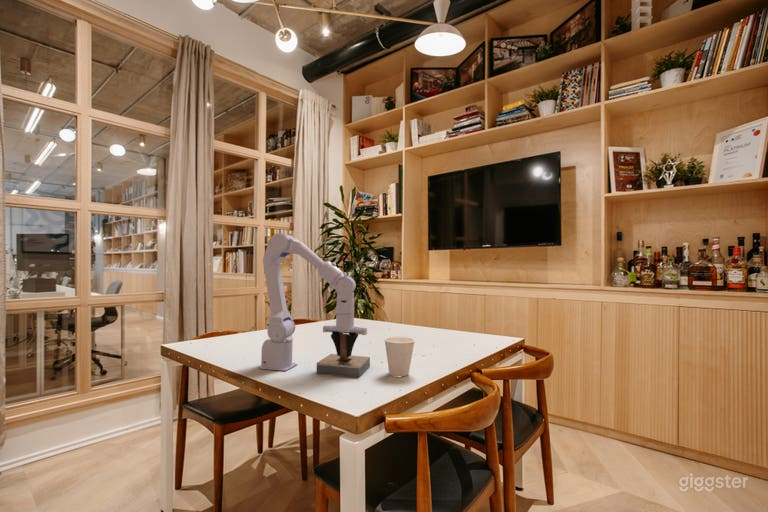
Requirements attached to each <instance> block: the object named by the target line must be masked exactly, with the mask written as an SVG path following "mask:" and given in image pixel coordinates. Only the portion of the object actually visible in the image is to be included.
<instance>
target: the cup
mask: <svg viewBox="0 0 768 512" xmlns="http://www.w3.org/2000/svg"><path fill="white" fill-rule="evenodd" d="M383 341H384V345H385V352H386V359H387V360H386V361H387V365H388V366H387V367H388V373H389V375H390V376H392V377H394V376H405V377H407V376H408V375H409V373H410V368H411V367H410V366H411V362H412V356H413V352H414V346H415V343H416V339H414V338H412V337H409V336H388V337H385V338H384V339H383ZM406 375H407V376H406Z"/></svg>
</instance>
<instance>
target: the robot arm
mask: <svg viewBox="0 0 768 512" xmlns="http://www.w3.org/2000/svg"><path fill="white" fill-rule="evenodd" d="M266 245H267V246H266V248H265V252H264V255H263V258H262V265H263V272H264V276H265V282H266V283H265V284H266V291H267V296H268V297H267V298H268V302H269V308H270V315H269V317H268V319H267V320H268V321H267V322H268V328H267V336H268V339H265V340H264V341H263V343H262V346H261V356H260V357H261V358H260V359H261V361H260V367H259V369H262V370H270V371H280V372H287V371H288V370H290V369H292V368H294V367H296V366H297V365H298V363H297V362H293V346H294V345H293V340H294V338H293V335H294V333H295V331H296V323H295V322H294V320H293V318H292V315H291V312H290V311H289V309H288V307H287V301H286V300H287V299H286V293H285V288H284V282H283V280H284V279H283V275H282V274H283V273H282V268H281V267H282V266H281V263H282V262H283V260H284V259H285V258H286V257H287V256H288V255H291V254H295V255H299V256H300V257H301V258H303V259H304V260H305V261H306V262H307V263H309V264H310V265H312V266H313V267H314V268H316V269H317V274H318V276H319V277H321V278H322V279H323V280H324V281H326V282H327V283H328V284H329V285H330V286H332V287H334V290H335V292H336V294H337V295H336V311H335V312H336V313H335V315H336V317H335V319H336V321H335V325H326V324H325V325H324V326H322V333H331V335H330V338H331V340H332V341H333V344H334V347H335V351H336V354H337V356H340V334H349V335H347V336H346V337H347V357H350V356H352V354H353V353H352V352H353V350H354V345H355V343H356V340H357V338H358V337H359V335H362V336H366V335H367V334H368V327H360V326H354V323H355V292H354V291H355V289H356V286H357V284H356V283H357V282H356V281H355V279H354V278H353V277H352V276H350V275H348V273H347V272H346V271H345V272H343V271H342V270H341V269H340V268H339V267H337V264H336V262H334V261H332V262H331V261H330V260H329V261H328V260H327V261H324V260H323V259H322V258H320V257H319V256H318V255H317V254H316V253H315V252H314V251H313V250H311V249H310V248H309V247H308V246H307V245H306V244H305V243H304V242H302V241H301V240H299V238H298V239H297V238H296V237H295V236H294V235H291V234H285V233H282V232H276V233H274V234H273V235H271V237H270V238H269V239H268V240H267V242H266Z"/></svg>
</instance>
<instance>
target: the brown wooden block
mask: <svg viewBox="0 0 768 512" xmlns="http://www.w3.org/2000/svg"><path fill="white" fill-rule="evenodd" d="M347 335H349V334H348V333H343V334H340V361H341V362H348V357H347V337H346V336H347Z"/></svg>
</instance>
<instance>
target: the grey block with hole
mask: <svg viewBox="0 0 768 512" xmlns="http://www.w3.org/2000/svg"><path fill="white" fill-rule="evenodd" d="M370 368H371V357H370V356H362V355H351V356H350V357H348V362H341V361H340V356H337V353H334V354H333V353H330V354H328V355H326V357H324V358H322V359H321V360H319V361H317V362H316V374H317V375H328V376H334V377H335V376H337V377H347V378H358V379H359V378H360V377H361V376H362V375H364V373H366V371H368V370H369V369H370Z"/></svg>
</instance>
